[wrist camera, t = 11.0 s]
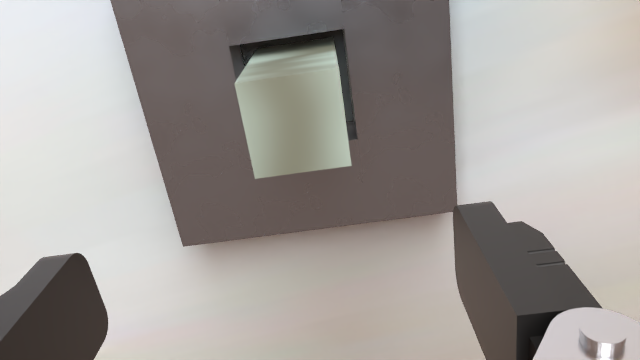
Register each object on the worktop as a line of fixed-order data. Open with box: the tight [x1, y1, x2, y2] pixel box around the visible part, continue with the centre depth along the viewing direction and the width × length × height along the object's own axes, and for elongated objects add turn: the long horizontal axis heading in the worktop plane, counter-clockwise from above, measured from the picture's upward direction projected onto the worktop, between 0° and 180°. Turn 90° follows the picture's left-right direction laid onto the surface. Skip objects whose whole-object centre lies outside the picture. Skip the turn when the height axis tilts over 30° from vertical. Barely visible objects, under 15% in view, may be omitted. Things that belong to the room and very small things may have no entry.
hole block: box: [111, 0, 457, 246], centre depth 26 cm, size 15×15×3 cm
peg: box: [234, 37, 352, 179], centre depth 24 cm, size 4×4×8 cm
